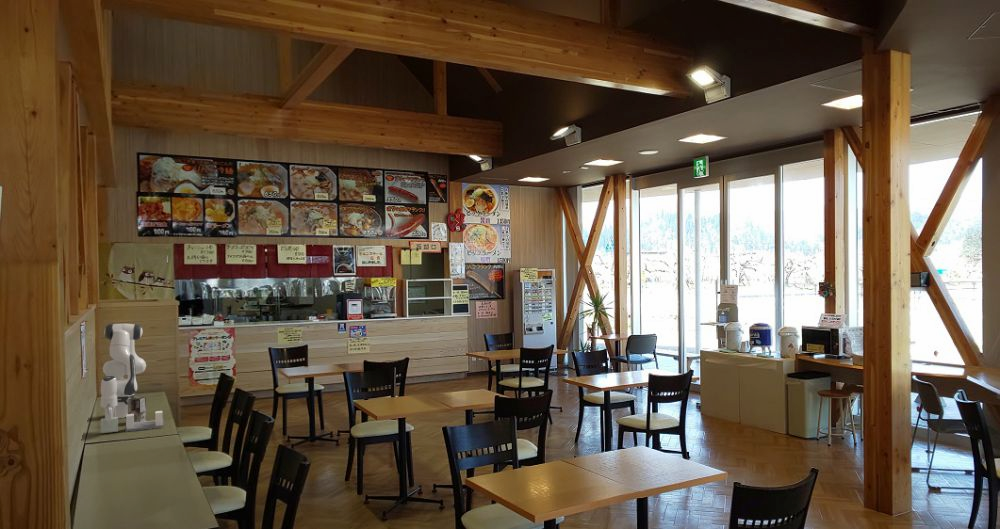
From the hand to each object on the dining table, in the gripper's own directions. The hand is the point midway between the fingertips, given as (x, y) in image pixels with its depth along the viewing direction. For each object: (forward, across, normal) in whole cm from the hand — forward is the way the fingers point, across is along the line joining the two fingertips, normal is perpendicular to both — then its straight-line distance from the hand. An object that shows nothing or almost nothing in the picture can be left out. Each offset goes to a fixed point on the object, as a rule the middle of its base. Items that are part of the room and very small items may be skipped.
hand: (109, 425), depth 412 cm
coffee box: (+5, +23, -15) cm, 28 cm away
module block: (+4, 0, 0) cm, 4 cm away
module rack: (+5, +2, -19) cm, 20 cm away
